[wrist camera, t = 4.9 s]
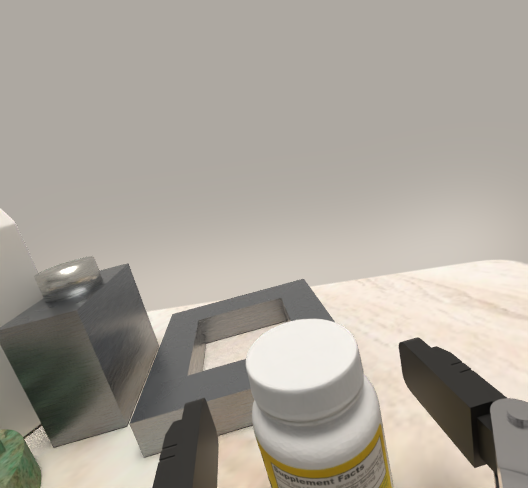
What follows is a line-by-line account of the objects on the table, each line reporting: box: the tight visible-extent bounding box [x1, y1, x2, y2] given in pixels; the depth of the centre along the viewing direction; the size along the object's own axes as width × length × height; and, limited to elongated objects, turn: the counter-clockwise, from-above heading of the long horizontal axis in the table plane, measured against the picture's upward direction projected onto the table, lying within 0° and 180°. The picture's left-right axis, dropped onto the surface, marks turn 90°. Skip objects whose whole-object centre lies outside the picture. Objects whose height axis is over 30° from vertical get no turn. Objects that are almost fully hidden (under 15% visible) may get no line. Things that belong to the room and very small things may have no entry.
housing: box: [0, 257, 335, 457], centre depth 24 cm, size 21×14×11 cm, turn 97°
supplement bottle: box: [246, 319, 394, 488], centre depth 12 cm, size 5×5×8 cm
